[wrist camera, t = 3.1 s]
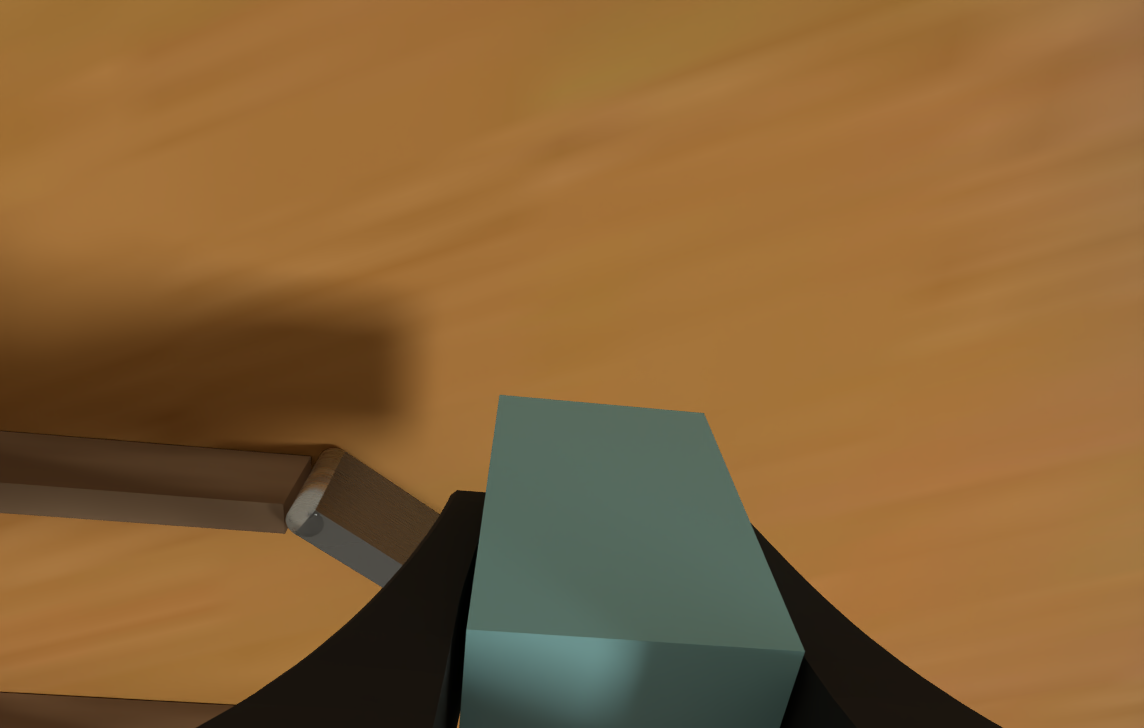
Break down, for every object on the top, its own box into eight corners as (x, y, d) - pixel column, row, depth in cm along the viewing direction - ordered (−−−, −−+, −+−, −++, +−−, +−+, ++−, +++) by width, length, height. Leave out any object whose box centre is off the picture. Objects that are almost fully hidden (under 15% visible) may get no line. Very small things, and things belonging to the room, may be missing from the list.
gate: (630, 641, 25) (640, 714, 22) (610, 657, 25) (618, 731, 23) (330, 442, 21) (298, 499, 19) (312, 463, 22) (278, 523, 19)
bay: (321, 729, 27) (300, 792, 24) (-132, 704, 25) (-199, 769, 23) (310, 456, 22) (283, 504, 20) (-250, 410, 21) (-350, 456, 18)
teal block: (668, 574, 15) (734, 862, 10) (485, 560, 15) (450, 850, 10) (704, 412, 14) (804, 651, 8) (500, 394, 14) (466, 629, 8)
